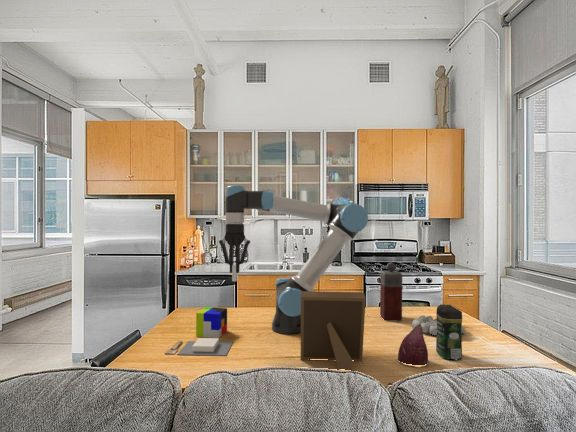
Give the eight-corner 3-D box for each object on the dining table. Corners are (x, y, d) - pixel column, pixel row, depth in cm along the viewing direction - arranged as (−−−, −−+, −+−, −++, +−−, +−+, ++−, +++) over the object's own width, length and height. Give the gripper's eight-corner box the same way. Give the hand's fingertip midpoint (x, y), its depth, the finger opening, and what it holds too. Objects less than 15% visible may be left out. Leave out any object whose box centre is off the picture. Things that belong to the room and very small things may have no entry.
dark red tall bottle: (396, 314, 193) (397, 261, 193) (402, 321, 182) (402, 264, 181) (379, 314, 193) (379, 260, 193) (383, 320, 182) (384, 263, 182)
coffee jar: (433, 351, 142) (433, 302, 142) (453, 351, 142) (454, 303, 142) (442, 361, 132) (443, 309, 132) (465, 361, 132) (465, 309, 132)
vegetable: (420, 365, 136) (428, 324, 138) (431, 373, 126) (440, 329, 128) (392, 358, 136) (401, 317, 138) (401, 365, 126) (411, 321, 128)
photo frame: (300, 355, 136) (301, 287, 136) (360, 357, 135) (361, 288, 135) (300, 373, 121) (300, 297, 121) (367, 375, 120) (368, 298, 120)
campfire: (422, 339, 155) (423, 325, 155) (405, 324, 176) (405, 312, 176) (474, 340, 156) (475, 326, 156) (451, 326, 177) (451, 313, 177)
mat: (232, 342, 149) (232, 341, 149) (226, 355, 135) (226, 355, 135) (188, 341, 150) (188, 341, 150) (177, 355, 136) (177, 354, 136)
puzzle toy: (218, 338, 155) (218, 314, 155) (196, 336, 157) (196, 312, 157) (227, 330, 164) (227, 308, 164) (205, 329, 166) (206, 307, 166)
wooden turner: (184, 343, 149) (184, 340, 149) (174, 354, 136) (174, 352, 136) (175, 343, 149) (175, 340, 149) (164, 354, 136) (164, 352, 136)
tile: (218, 338, 147) (198, 338, 147) (213, 346, 138) (192, 346, 138) (218, 343, 147) (198, 343, 147) (213, 352, 138) (192, 351, 138)
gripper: (251, 223, 156) (251, 279, 156) (221, 223, 156) (220, 279, 156) (249, 223, 148) (249, 282, 148) (217, 223, 148) (216, 282, 149)
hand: (234, 280), depth 152 cm, fingers closed
